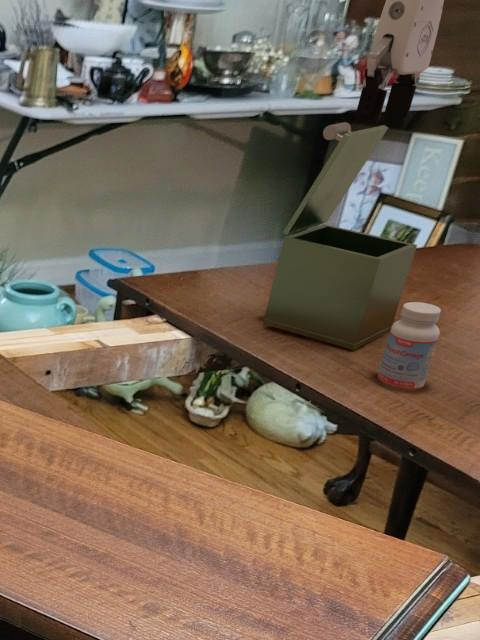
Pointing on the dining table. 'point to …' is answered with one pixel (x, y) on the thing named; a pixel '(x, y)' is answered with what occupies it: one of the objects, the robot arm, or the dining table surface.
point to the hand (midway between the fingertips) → (381, 118)
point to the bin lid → (335, 174)
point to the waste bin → (338, 285)
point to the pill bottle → (411, 346)
